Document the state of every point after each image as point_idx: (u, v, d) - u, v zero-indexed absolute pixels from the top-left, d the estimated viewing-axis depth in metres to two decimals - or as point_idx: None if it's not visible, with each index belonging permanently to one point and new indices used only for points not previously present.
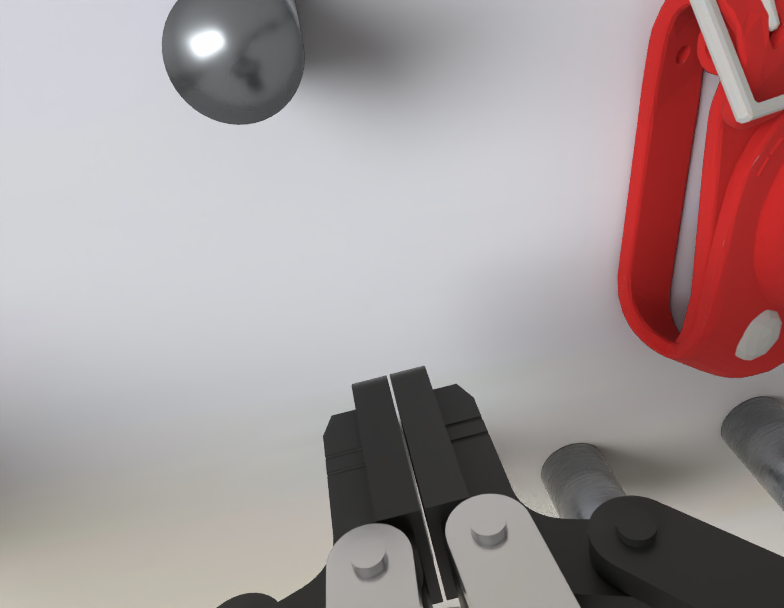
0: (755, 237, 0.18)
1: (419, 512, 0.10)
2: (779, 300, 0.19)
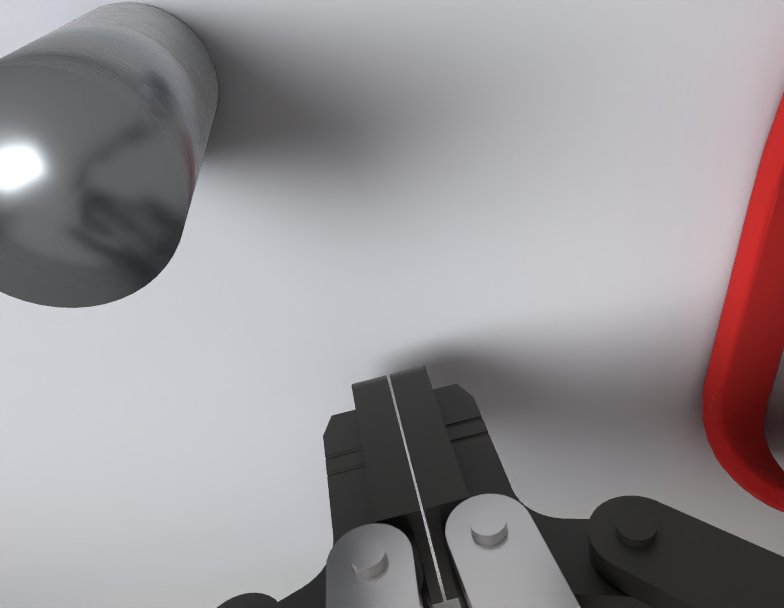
0: None
1: (419, 512, 0.10)
2: None
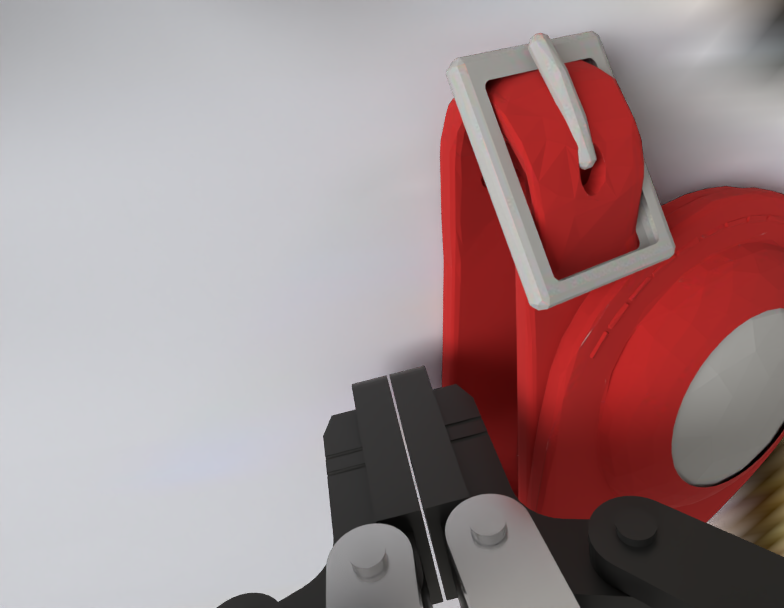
0: (596, 434, 0.12)
1: (419, 512, 0.10)
2: None
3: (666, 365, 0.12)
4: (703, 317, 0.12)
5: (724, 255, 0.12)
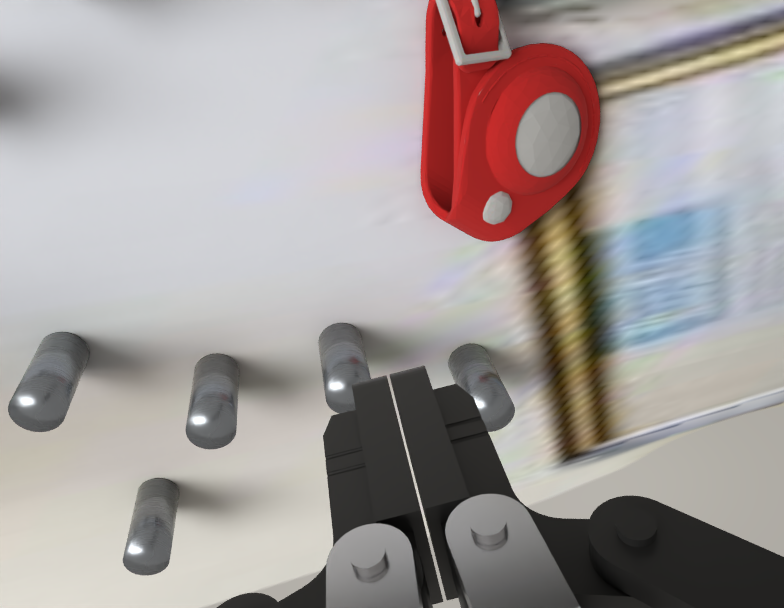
0: (485, 140, 0.30)
1: (419, 512, 0.10)
2: (506, 184, 0.32)
3: (512, 108, 0.30)
4: (527, 90, 0.30)
5: (538, 68, 0.30)
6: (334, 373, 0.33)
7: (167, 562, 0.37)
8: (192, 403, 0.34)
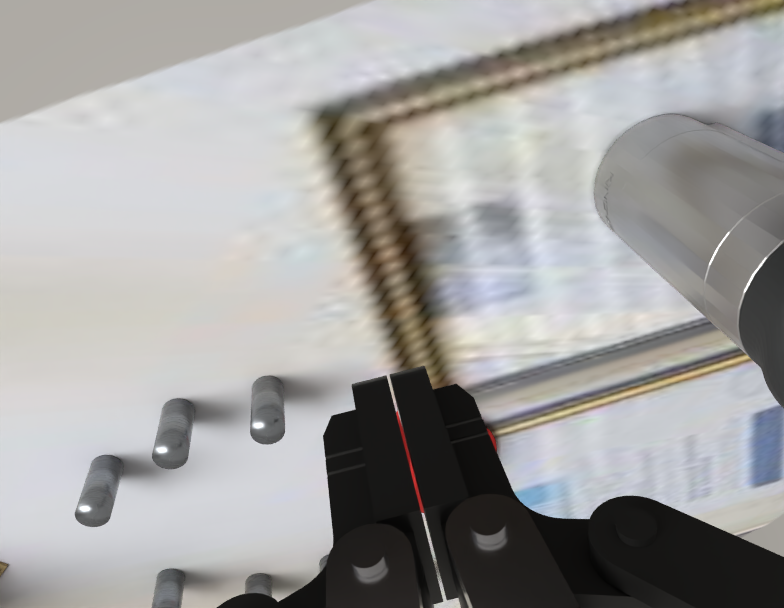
0: None
1: (419, 512, 0.10)
2: None
3: None
4: None
5: None
6: None
7: None
8: None
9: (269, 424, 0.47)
